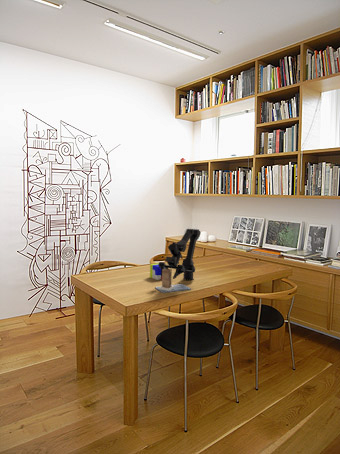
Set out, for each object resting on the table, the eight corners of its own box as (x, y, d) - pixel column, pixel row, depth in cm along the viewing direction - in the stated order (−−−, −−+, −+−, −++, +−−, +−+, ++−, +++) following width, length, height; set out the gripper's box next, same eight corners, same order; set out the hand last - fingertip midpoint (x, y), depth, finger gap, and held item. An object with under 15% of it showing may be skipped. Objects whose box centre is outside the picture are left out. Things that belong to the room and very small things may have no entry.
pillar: (165, 287, 227) (165, 268, 226) (171, 288, 225) (171, 269, 224) (162, 288, 223) (162, 269, 222) (167, 289, 221) (168, 270, 220)
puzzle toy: (157, 279, 250) (157, 266, 250) (150, 277, 259) (150, 264, 258) (168, 278, 256) (168, 265, 255) (160, 275, 264) (160, 263, 263)
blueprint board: (182, 285, 237) (182, 281, 237) (190, 289, 226) (190, 286, 226) (155, 288, 228) (155, 284, 227) (162, 292, 217) (162, 289, 217)
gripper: (159, 250, 231) (150, 269, 223) (183, 253, 222) (175, 272, 214) (165, 259, 239) (156, 278, 231) (188, 262, 230) (181, 282, 222)
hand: (167, 277), depth 224 cm, fingers open, 9 cm apart
